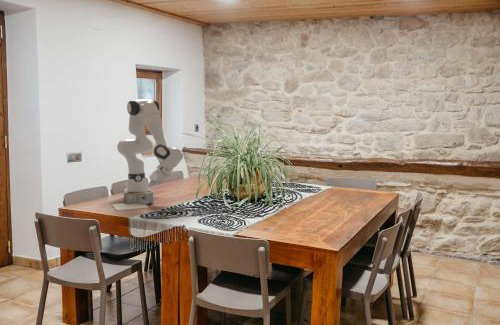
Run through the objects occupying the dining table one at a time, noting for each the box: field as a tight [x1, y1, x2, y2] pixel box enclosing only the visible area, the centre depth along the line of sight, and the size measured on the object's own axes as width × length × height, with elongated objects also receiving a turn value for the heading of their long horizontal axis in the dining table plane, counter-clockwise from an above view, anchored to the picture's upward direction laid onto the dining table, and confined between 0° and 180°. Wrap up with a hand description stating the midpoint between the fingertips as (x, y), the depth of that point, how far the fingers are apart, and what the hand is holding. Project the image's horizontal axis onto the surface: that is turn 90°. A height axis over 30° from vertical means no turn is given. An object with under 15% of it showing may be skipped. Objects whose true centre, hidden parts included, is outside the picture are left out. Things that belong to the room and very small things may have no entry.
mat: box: [111, 202, 149, 212], centre depth 292 cm, size 20×19×1 cm
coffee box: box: [123, 191, 154, 205], centre depth 300 cm, size 9×6×16 cm
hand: (148, 186), depth 296 cm, fingers closed
